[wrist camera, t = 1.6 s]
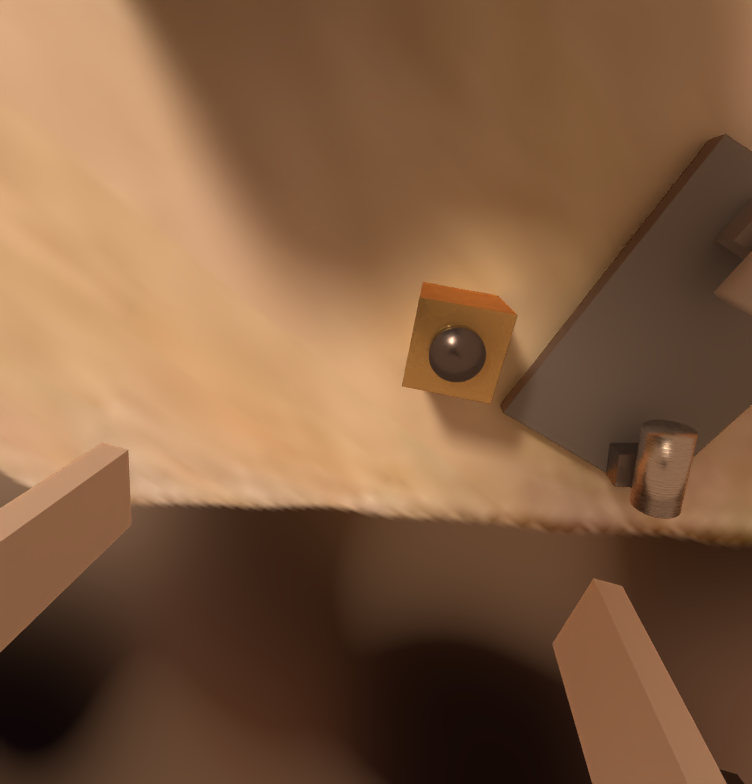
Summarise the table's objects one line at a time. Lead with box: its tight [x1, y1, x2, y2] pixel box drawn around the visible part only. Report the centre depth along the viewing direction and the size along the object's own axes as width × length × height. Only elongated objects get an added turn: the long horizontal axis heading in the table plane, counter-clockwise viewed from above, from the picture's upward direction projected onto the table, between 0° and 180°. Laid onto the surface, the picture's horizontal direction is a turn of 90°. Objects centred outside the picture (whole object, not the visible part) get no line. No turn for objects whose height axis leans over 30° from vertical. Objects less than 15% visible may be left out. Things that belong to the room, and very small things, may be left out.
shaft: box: [606, 420, 698, 518], centre depth 24 cm, size 5×4×4 cm
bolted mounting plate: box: [500, 134, 752, 488], centre depth 22 cm, size 18×12×5 cm, turn 151°
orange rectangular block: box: [402, 282, 517, 404], centre depth 23 cm, size 5×5×7 cm
